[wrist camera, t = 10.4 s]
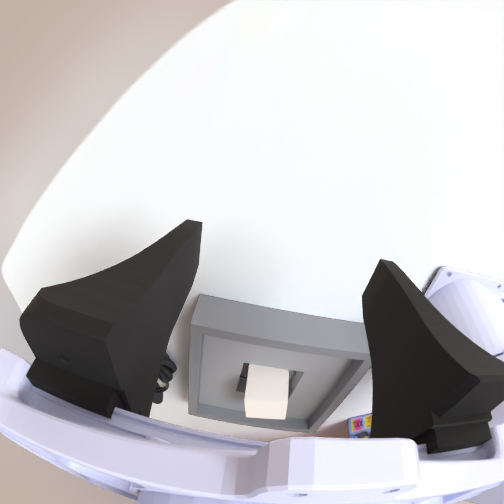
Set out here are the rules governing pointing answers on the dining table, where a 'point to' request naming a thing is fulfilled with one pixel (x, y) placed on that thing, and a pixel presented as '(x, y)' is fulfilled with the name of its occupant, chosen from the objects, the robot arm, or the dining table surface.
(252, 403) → the white rectangular block
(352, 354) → the walled box
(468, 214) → the dining table surface
